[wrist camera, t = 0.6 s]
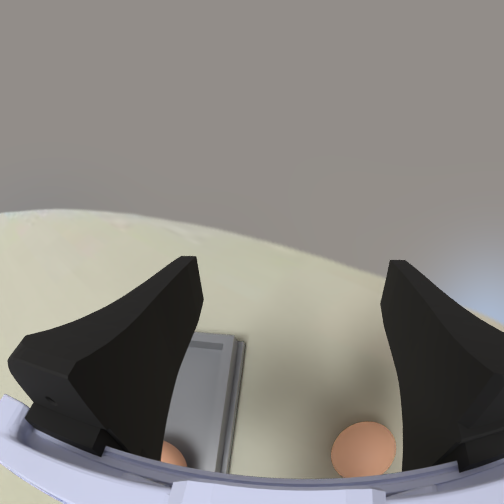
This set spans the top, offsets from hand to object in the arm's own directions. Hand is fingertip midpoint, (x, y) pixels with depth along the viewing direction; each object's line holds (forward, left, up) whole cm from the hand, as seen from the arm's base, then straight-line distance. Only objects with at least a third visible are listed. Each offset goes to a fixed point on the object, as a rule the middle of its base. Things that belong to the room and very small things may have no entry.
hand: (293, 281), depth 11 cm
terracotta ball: (-6, -6, -17) cm, 19 cm away
